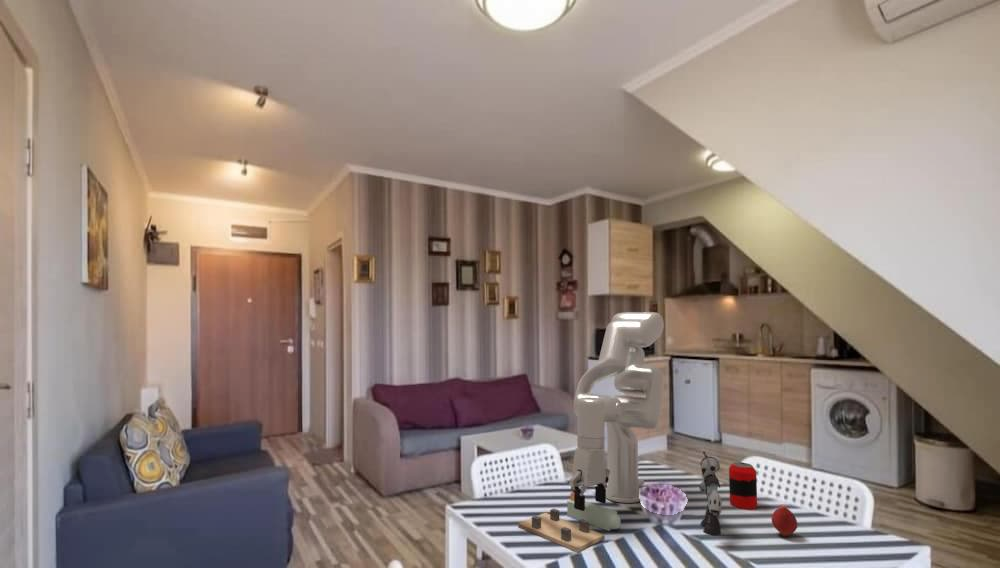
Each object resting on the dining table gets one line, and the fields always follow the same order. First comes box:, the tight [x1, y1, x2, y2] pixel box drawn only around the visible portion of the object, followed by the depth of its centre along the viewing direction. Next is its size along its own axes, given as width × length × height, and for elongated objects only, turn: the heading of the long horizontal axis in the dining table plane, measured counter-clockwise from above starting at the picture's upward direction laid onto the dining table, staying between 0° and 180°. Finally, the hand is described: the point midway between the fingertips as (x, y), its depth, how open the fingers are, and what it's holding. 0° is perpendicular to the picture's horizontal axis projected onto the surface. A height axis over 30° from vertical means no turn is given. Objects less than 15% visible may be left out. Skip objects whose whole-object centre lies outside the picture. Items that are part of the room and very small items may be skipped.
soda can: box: [728, 461, 758, 510], centre depth 153 cm, size 8×8×12 cm
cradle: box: [517, 508, 605, 553], centre depth 132 cm, size 11×20×4 cm, turn 44°
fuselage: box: [566, 491, 622, 532], centre depth 139 cm, size 4×16×6 cm, turn 44°
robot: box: [698, 451, 723, 536], centre depth 136 cm, size 20×5×20 cm, turn 166°
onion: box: [771, 503, 798, 537], centre depth 131 cm, size 6×6×8 cm
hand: (590, 505), depth 139 cm, fingers open, 9 cm apart
